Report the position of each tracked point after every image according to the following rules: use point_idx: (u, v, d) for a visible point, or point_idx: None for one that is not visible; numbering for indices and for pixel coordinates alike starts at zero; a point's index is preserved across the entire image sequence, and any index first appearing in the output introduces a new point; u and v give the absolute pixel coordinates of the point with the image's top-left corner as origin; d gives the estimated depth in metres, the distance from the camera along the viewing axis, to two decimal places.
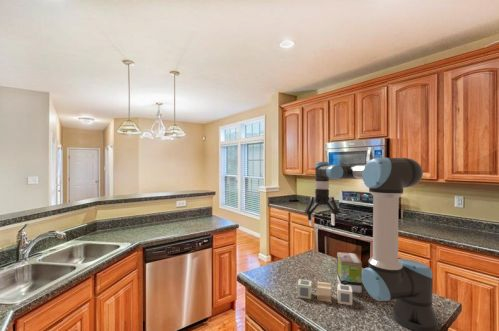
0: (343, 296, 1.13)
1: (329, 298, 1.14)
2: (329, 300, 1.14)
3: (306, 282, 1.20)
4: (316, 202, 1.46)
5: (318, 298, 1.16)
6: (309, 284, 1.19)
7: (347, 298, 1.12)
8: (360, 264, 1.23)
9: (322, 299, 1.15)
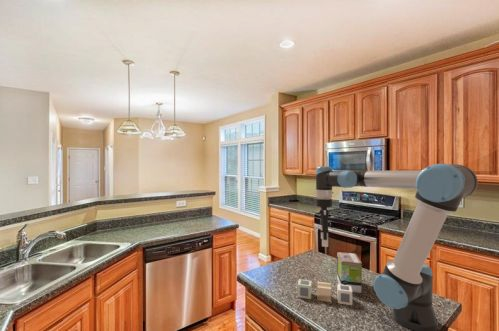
0: (343, 296, 1.13)
1: (329, 298, 1.14)
2: (329, 300, 1.14)
3: (306, 282, 1.20)
4: None
5: (318, 298, 1.16)
6: (309, 284, 1.19)
7: (347, 298, 1.12)
8: (360, 264, 1.23)
9: (322, 299, 1.15)
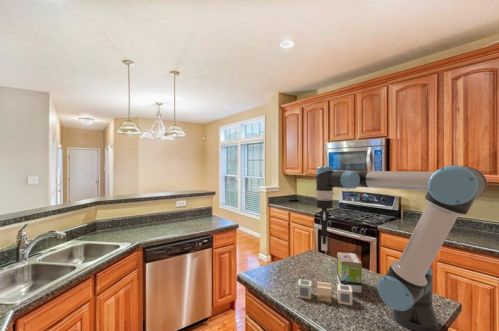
0: (343, 296, 1.13)
1: (329, 298, 1.14)
2: (329, 300, 1.14)
3: (306, 282, 1.20)
4: None
5: (318, 298, 1.16)
6: (309, 284, 1.19)
7: (347, 298, 1.12)
8: (360, 264, 1.23)
9: (322, 299, 1.15)
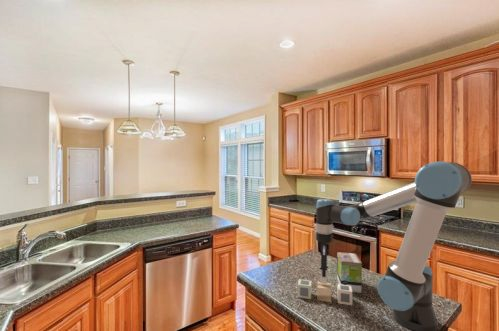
0: (343, 296, 1.13)
1: (329, 298, 1.14)
2: (329, 300, 1.14)
3: (306, 282, 1.20)
4: None
5: (318, 298, 1.16)
6: (309, 284, 1.19)
7: (347, 298, 1.12)
8: (360, 264, 1.23)
9: (322, 299, 1.15)
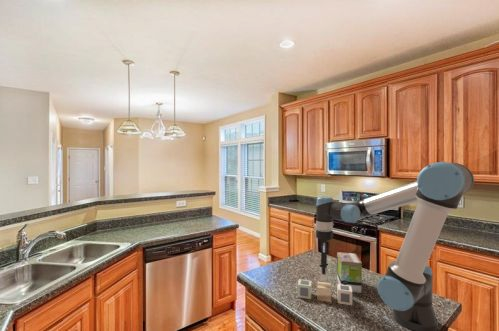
0: (343, 296, 1.13)
1: (329, 298, 1.14)
2: (329, 300, 1.14)
3: (306, 282, 1.20)
4: None
5: (318, 298, 1.16)
6: (309, 284, 1.19)
7: (347, 298, 1.12)
8: (360, 264, 1.23)
9: (322, 299, 1.15)
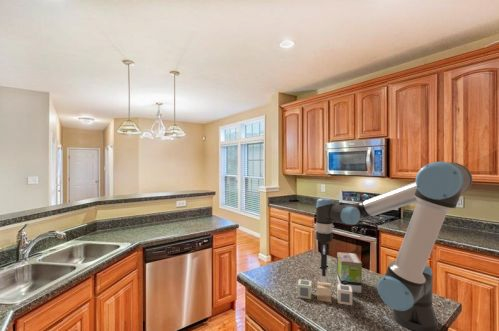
0: (343, 296, 1.13)
1: (329, 298, 1.14)
2: (329, 300, 1.14)
3: (306, 282, 1.20)
4: None
5: (318, 298, 1.16)
6: (309, 284, 1.19)
7: (347, 298, 1.12)
8: (360, 264, 1.23)
9: (322, 299, 1.15)
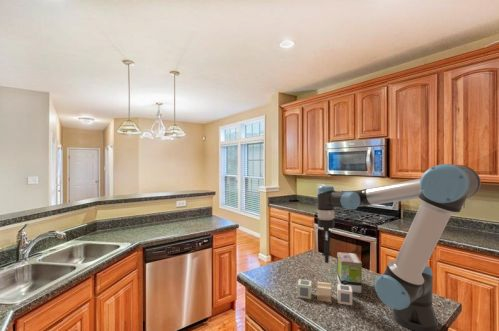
0: (343, 296, 1.13)
1: (329, 298, 1.14)
2: (329, 300, 1.14)
3: (306, 282, 1.20)
4: None
5: (318, 298, 1.16)
6: (309, 284, 1.19)
7: (347, 298, 1.12)
8: (360, 264, 1.23)
9: (322, 299, 1.15)
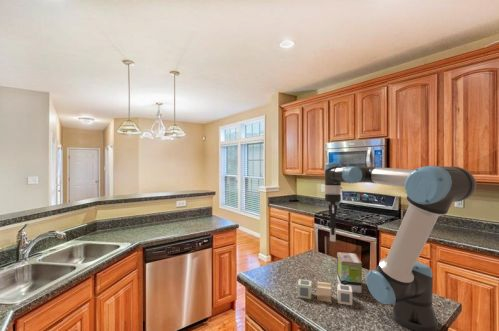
0: (343, 296, 1.13)
1: (329, 298, 1.14)
2: (329, 300, 1.14)
3: (306, 282, 1.20)
4: None
5: (318, 298, 1.16)
6: (309, 284, 1.19)
7: (347, 298, 1.12)
8: (360, 264, 1.23)
9: (322, 299, 1.15)
